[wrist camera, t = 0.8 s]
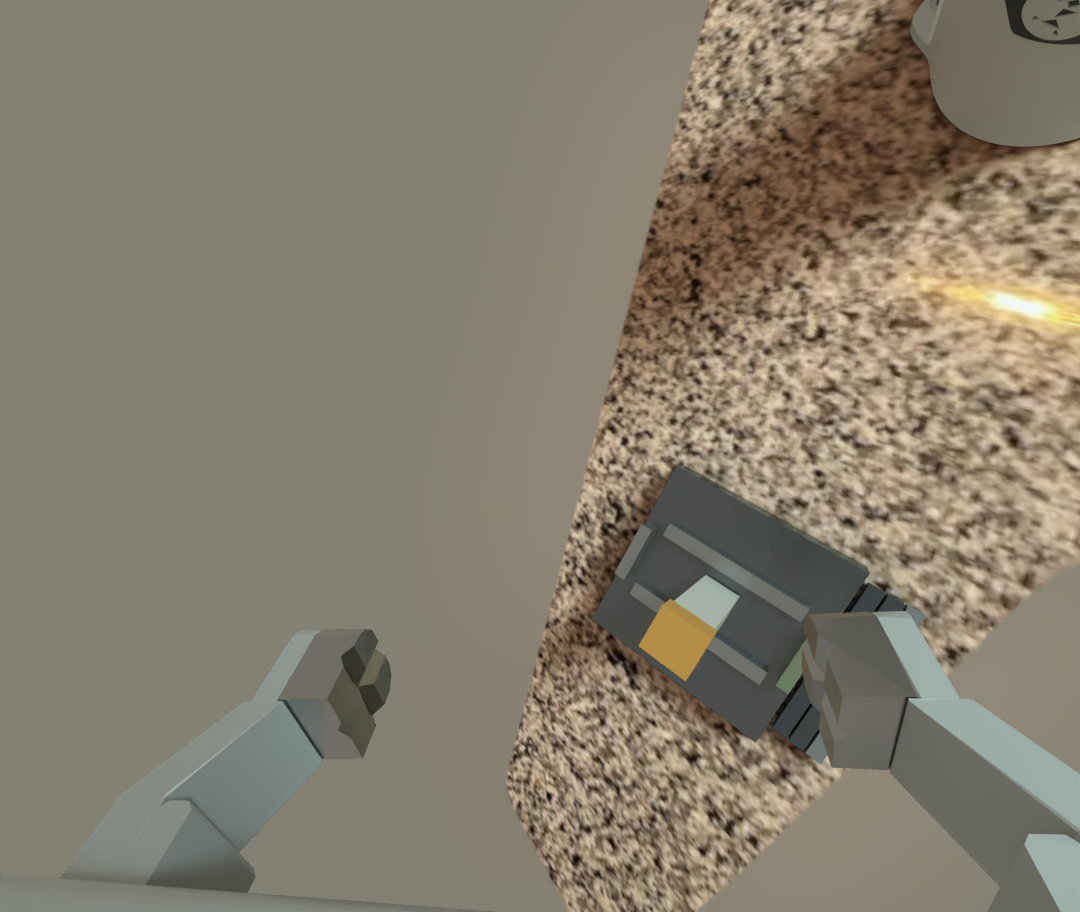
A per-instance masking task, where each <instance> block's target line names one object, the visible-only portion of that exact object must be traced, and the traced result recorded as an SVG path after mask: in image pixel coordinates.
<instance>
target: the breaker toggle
mask: <svg viewBox="0 0 1080 912" xmlns="http://www.w3.org/2000/svg"><path fill="white" fill-rule="evenodd" d="M739 597H740V596H738V595H737V594H735V593H734V592H732V591H730V590H729V589H727V588H726V587H724V586H723V585H721V584H720V583H718V582H716V581H715V580H713V579H712V578H710V577H709V576H707V575H705V576H704V577H703V578H702V579H700V580H699V581H698V582H697V583H695V584H694V585H693V586H692V587H691V588H689V589H688V590H687V591H686V592H684V593H683V594H682V595H681V596H679V597H678V598H677V599H676V600H675V601H673V600H672V599H669V600H668V601H667V602H665V603H664V604H663V605H662V607H661V608H660V610H659V612H658V613H657V615H656V617H655V619H654V620H653V622H652V624H651V625H650V627H649V629H648V630H647V632H646V634H645V636H644V637H643V639H642V641H641V642H640V644H639V647H640V648H642V649H643V650H644V651H646V652H647V653H648V654H650V655H651V656H652V657H654V658H655V659H656V660H658V661H659V662H660V663H662V664H663V665H664V666H666V667H667V668H668V669H670V670H671V671H672V672H674V673H675V674H676V675H678V676H679V677H680V678H682V679H683V680H684V681H686V680H687V679H688V677H689V676H690V675H691V673H692V672H693V670H694V668H695V667H696V665H697V664H698V662H699V660H700V659H701V657H702V656H703V654H704V652H705V651H706V649H707V648H708V646H709V644H710V643H711V641H712V639H713V638H714V636H715V635H716V633H717V631H718V630H719V628H720V627H721V626H722V624H723V623H724V621H725V619H726V618H727V616H728V615H729V613H730V611H731V610H732V608H733V607H734V605H735V603H736V602H737V600H738V598H739Z"/></svg>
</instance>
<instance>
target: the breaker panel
mask: <svg viewBox="0 0 1080 912" xmlns="http://www.w3.org/2000/svg"><path fill="white" fill-rule="evenodd" d="M614 574H616V576H615V578H614V580H613V582H612V583H611V585H610V587H609V589H608V591H607V592H606V594H605V596H604V598H603V600H602V601H601V603H600V605H599V607H598V609H597V610H596V612H595V614H594V616H593V618H592V620H594V621H595V622H596V623H598V624H599V625H600V626H602V627H603V628H604V629H606V630H607V631H608V632H610V633H611V634H612V635H614V636H615V637H616V638H618V639H619V640H620V641H622V642H623V643H624V644H626V645H627V646H628V647H630V648H631V649H632V650H634V651H635V652H636V653H638V654H639V655H640V656H642V657H643V658H644V659H646V660H647V661H648V662H649V663H651V664H652V665H653V666H655V667H656V668H657V669H659V670H660V671H661V672H663V673H664V674H665V675H667V676H668V677H669V678H671V679H672V680H673V681H675V682H676V683H677V684H679V685H680V686H681V687H683V688H684V689H685V690H687V691H688V692H689V693H691V694H692V695H693V696H695V697H696V698H697V699H699V700H700V701H701V702H703V703H704V704H705V705H707V706H708V707H709V708H710V709H712V710H713V711H714V712H716V713H717V714H718V715H720V716H721V717H722V718H724V719H725V720H726V721H728V722H729V723H730V724H732V725H733V726H734V727H736V728H737V729H738V730H740V731H741V732H742V733H744V734H745V735H746V736H748V737H749V738H750V739H752V740H753V741H754V742H756V741H757V740H758V738H759V737H760V735H761V734H762V732H763V731H764V729H765V728H766V726H767V725H768V723H769V722H770V720H771V719H772V717H773V716H774V714H775V713H776V712H777V710H778V709H779V707H780V706H781V704H782V703H783V701H784V700H785V698H786V697H787V695H788V694H789V693H790V691H791V690H792V688H793V687H794V685H795V684H796V682H797V681H798V679H799V678H800V676H801V675H802V673H803V671H802V661H801V660H802V647H803V646H804V645H805V644H806V643H808V641H807V638H806V635H805V632H804V621H805V618H806V616H807V614H830V613H843V612H844V611H845V609H846V608H847V606H848V605H849V603H850V602H851V600H852V599H853V597H854V596H855V594H856V593H857V591H858V590H859V588H860V587H861V586H862V584H863V583H864V581H865V580H866V578H867V577H868V575H869V571H868V568H867V567H866V566H864V565H862V564H861V563H859V562H857V561H855V560H853V559H852V558H850V557H848V556H846V555H844V554H843V553H841V552H839V551H837V550H836V549H834V548H832V547H830V546H828V545H827V544H825V543H823V542H821V541H819V540H818V539H816V538H814V537H812V536H810V535H809V534H807V533H805V532H803V531H801V530H800V529H798V528H796V527H794V526H792V525H791V524H789V523H787V522H785V521H783V520H782V519H780V518H778V517H776V516H774V515H773V514H771V513H769V512H767V511H765V510H764V509H762V508H760V507H758V506H756V505H755V504H753V503H751V502H749V501H747V500H746V499H744V498H742V497H740V496H738V495H737V494H735V493H733V492H731V491H729V490H728V489H726V488H724V487H722V486H720V485H719V484H717V483H715V482H713V481H711V480H710V479H708V478H706V477H704V476H702V475H701V474H699V473H697V472H695V471H693V470H692V469H690V468H688V467H686V466H676V468H675V470H674V472H673V474H672V475H671V477H670V479H669V481H668V483H667V484H666V486H665V488H664V490H663V492H662V493H661V495H660V497H659V499H658V501H657V502H656V504H655V506H654V508H653V510H652V511H651V513H650V515H649V517H648V519H647V520H646V522H645V523H644V524H641V526H640V528H639V530H638V532H637V533H636V535H635V537H634V539H633V541H632V542H631V544H630V546H629V548H628V550H627V551H626V553H625V555H624V557H623V559H622V560H621V562H620V564H619V566H618V568H617V569H616V571H615V573H614ZM705 575H707V576H709V577H710V578H712V579H713V580H715V581H716V582H718V583H720V584H721V585H723V586H724V587H726V588H727V589H729V590H730V591H732V592H734V593H735V594H737V595H738V596H740V597H739V598H738V600H737V602H736V603H735V605H734V607H733V608H732V610H731V611H730V613H729V615H728V616H727V618H726V619H725V621H724V623H723V624H722V626H721V627H720V628H719V630H718V631H717V633H716V635H715V636H714V638H713V639H712V641H711V643H710V644H709V646H708V648H707V649H706V651H705V652H704V654H703V656H702V657H701V659H700V660H699V662H698V664H697V665H696V667H695V668H694V670H693V672H692V673H691V675H690V676H689V677H688V679H687V680H686V681H684V680H683V679H682V678H680V677H679V676H678V675H676V674H675V673H674V672H672V671H671V670H670V669H668V668H667V667H666V666H664V665H663V664H662V663H660V662H659V661H658V660H656V659H655V658H654V657H652V656H651V655H650V654H648V653H647V652H646V651H644V650H643V649H642V648H640V647H639V644H640V642H641V641H642V639H643V637H644V636H645V634H646V632H647V630H648V629H649V627H650V625H651V624H652V622H653V620H654V619H655V617H656V615H657V613H658V612H659V610H660V608H661V607H662V605H663V604H664V603H665V602H667V601H668V600H669V599H672V600H673V601H675V600H676V599H677V598H678V597H679V596H681V595H682V594H683V593H684V592H686V591H687V590H688V589H689V588H691V587H692V586H693V585H694V584H695V583H697V582H698V581H699V580H700V579H702V578H703V577H704V576H705Z"/></svg>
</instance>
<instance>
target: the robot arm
mask: <svg viewBox="0 0 1080 912" xmlns="http://www.w3.org/2000/svg"><path fill="white" fill-rule="evenodd" d="M937 5H938V6H937ZM910 34H911V37H912V39H913V41H914V42H915V44H916V45H917V46H918V48H919V49H920V50H921V51H922V53H923V54H924V55H925V56H926V57H927V60H928V63H929V68H930V78H931V86H932V91H933V94H934V97H935V100H936V102H937V104H938V106H939V108H940V109H941V111H942V112H943V114H944V115H945V116H946V117H947V118H948V120H949V121H950V122H952V123H953V124H954V125H955V126H956V127H957V128H959V129H960V130H962V131H963V132H965V133H967V134H969V135H971V136H973V137H975V138H978V139H980V140H983V141H986V142H990V143H994V144H999V145H1006V146H1020V147H1027V146H1043V145H1050V144H1056V143H1061V142H1066V141H1070V140H1074V139H1077V138H1080V0H924V2H923V3H922V4H921V5H920V7H919V8H918V9H917V11H916V13H915V14H914V17H913V20H912V23H911V26H910ZM804 632H805V635H806V638H807V641H808V643H806V644H805V645H804V646H803V647H802V660H801V661H802V671H803V678H804V682H805V687H806V691H807V694H808V697H809V700H810V703H811V704H812V705H813V706H814V707H815V708H816V709H818V710H819V711H820V720H819V731H820V734H821V737H822V740H823V743H824V746H825V749H826V752H827V755H828V758H829V761H830V764H831V767H833V768H855V769H857V768H858V769H877V770H890V774H891V775H892V776H893V777H894V778H895V779H896V780H897V781H898V782H899V783H900V784H901V785H902V786H903V787H904V788H905V789H906V790H907V791H908V792H909V793H910V794H911V795H912V796H913V797H914V798H915V799H916V801H917V802H919V803H920V805H921V806H922V807H923V808H924V809H925V810H926V811H927V812H928V813H929V814H930V815H931V816H932V817H933V818H934V819H935V820H936V821H937V822H938V823H939V824H940V825H941V826H942V827H943V828H944V829H945V830H946V831H947V832H948V834H949V835H950V836H951V837H952V838H953V839H954V840H955V841H956V842H957V843H958V844H959V845H960V846H961V847H962V848H963V849H964V850H965V851H966V852H967V853H968V854H969V855H970V856H971V857H972V858H973V859H974V860H975V861H976V862H977V863H978V864H979V865H980V867H981V868H982V869H983V870H984V871H985V872H986V873H987V874H988V875H989V876H990V877H991V878H992V879H993V880H994V881H995V882H996V883H997V884H998V885H999V886H1000V889H999V891H998V893H997V895H996V897H995V898H994V900H993V902H992V904H991V906H990V908H989V910H988V911H987V912H1080V774H1079V773H1077V772H1076V771H1074V770H1073V769H1072V768H1070V767H1069V766H1067V765H1066V764H1064V763H1063V762H1061V761H1060V760H1059V759H1057V758H1056V757H1054V756H1053V755H1051V754H1050V753H1048V752H1047V751H1046V750H1044V749H1043V748H1041V747H1040V746H1038V745H1037V744H1036V743H1034V742H1033V741H1031V740H1030V739H1028V738H1027V737H1025V736H1024V735H1022V734H1021V733H1019V732H1018V731H1017V730H1015V729H1014V728H1012V727H1011V726H1009V725H1008V724H1007V723H1005V722H1004V721H1002V720H1001V719H999V718H998V717H996V716H995V715H993V714H992V713H991V712H989V711H988V710H987V709H985V708H984V707H982V706H981V705H979V704H978V703H976V702H975V701H974V700H972V699H966V698H959V696H958V694H957V693H956V691H955V689H954V688H953V686H952V684H951V683H950V681H949V679H948V678H947V676H946V674H945V672H944V671H943V669H942V667H941V666H940V664H939V662H938V661H937V659H936V657H935V656H934V654H933V652H932V651H931V649H930V647H929V646H928V644H927V642H926V640H925V639H924V637H923V635H922V634H921V632H920V630H919V629H918V627H917V625H916V624H915V622H914V620H913V619H912V617H911V616H910V615H909V614H908V613H907V612H905V611H888V612H871V613H869V612H853V613H830V614H807V616H806V618H805V621H804ZM377 643H378V640H377V638H376V636H375V634H374V633H373V631H372V630H366V629H362V630H361V629H359V630H358V629H347V630H346V629H345V630H344V629H340V630H338V629H335V630H300V631H299V632H297V633H296V634H294V635H293V636H292V638H291V640H290V641H289V643H288V644H287V646H286V648H285V649H284V650H283V652H282V654H281V655H280V657H279V658H278V660H277V662H276V663H275V665H274V666H273V668H272V669H271V671H270V673H269V674H268V676H267V678H266V679H265V681H264V682H263V684H262V685H261V687H260V688H259V690H258V692H257V693H256V695H255V696H254V698H253V699H252V701H244V702H243V703H242V704H240V705H239V706H238V707H236V708H235V709H234V710H232V711H231V712H230V713H229V714H227V715H226V716H225V717H223V718H222V719H221V720H219V721H218V722H217V723H215V724H214V725H213V726H211V727H210V728H209V729H207V730H206V731H205V732H204V733H202V734H201V735H199V736H198V737H197V738H196V739H194V740H193V741H192V742H190V743H189V744H188V745H186V746H185V747H184V748H182V749H181V750H180V751H178V752H177V753H176V754H174V755H173V756H172V757H171V758H169V759H168V760H167V761H165V762H164V763H163V764H161V765H160V766H159V767H157V768H156V769H155V770H153V771H152V772H151V773H149V774H148V775H147V776H145V777H144V778H143V779H141V780H140V781H139V782H138V783H136V784H135V785H134V786H132V787H131V788H130V789H128V790H127V791H126V792H124V793H123V794H122V795H121V796H120V797H119V798H118V799H117V801H116V802H115V804H114V805H113V806H112V808H111V809H110V810H109V812H108V813H107V814H106V816H105V817H104V818H103V820H102V821H101V822H100V824H99V825H98V827H97V828H96V829H95V831H94V832H93V833H92V835H91V836H90V838H89V839H88V840H87V842H86V843H85V844H84V846H83V847H82V849H81V850H80V851H79V852H78V854H77V855H76V857H75V858H74V859H73V861H72V862H71V863H70V865H69V866H68V867H67V869H66V870H65V871H64V873H63V874H62V875H61V877H60V878H46V877H32V876H20V875H6V874H0V912H493V911H479V910H467V909H453V908H440V907H427V906H413V905H401V904H388V903H373V902H361V901H348V900H335V899H321V898H309V897H296V896H282V895H269V894H256V893H248V891H249V889H250V887H251V885H252V883H253V881H254V879H255V872H254V868H253V867H252V866H251V865H250V864H249V863H248V862H247V861H246V860H245V859H244V858H243V857H242V856H241V854H240V853H239V852H240V851H241V850H242V849H243V848H244V847H245V846H246V845H247V843H248V842H249V841H250V840H251V839H252V838H253V837H254V836H255V835H256V834H257V833H258V832H259V830H260V829H261V828H262V827H263V826H264V825H265V824H266V823H267V822H268V821H269V820H270V818H271V817H272V816H273V815H274V814H275V813H276V812H277V811H278V810H279V808H281V806H282V805H283V804H284V803H285V802H286V801H287V800H288V799H289V798H290V797H291V795H292V794H293V793H294V792H295V791H296V790H297V789H298V788H299V787H300V786H301V785H302V784H303V783H304V781H305V780H306V779H307V778H308V777H309V776H310V775H311V774H312V773H313V772H314V771H315V769H316V768H317V767H318V766H319V765H320V764H321V763H322V762H323V761H322V759H347V758H348V759H349V758H350V759H351V758H363V756H364V754H365V751H366V749H367V746H368V744H369V741H370V739H371V737H372V734H373V731H374V729H375V726H376V724H375V720H374V717H373V714H374V713H375V712H377V710H379V709H380V708H381V707H382V706H383V705H384V704H385V701H386V699H387V696H388V693H389V690H390V682H391V671H390V665H389V662H388V660H387V658H386V656H385V655H383V654H382V653H380V652H379V651H378V650H376V649H375V647H376V645H377Z"/></svg>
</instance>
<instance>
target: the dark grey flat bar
mask: <svg viewBox="0 0 1080 912" xmlns="http://www.w3.org/2000/svg"><path fill="white" fill-rule="evenodd" d="M883 597H884V598H883ZM881 600H882V601H881ZM879 603H880V604H879ZM877 606H878V607H877ZM874 610H875V611H874ZM888 611H905V612H907V613H908V614H909V615H910V616H911V617H912V619H913V620H914V622H915V624H916V625H917V627H919V626H920V624H921V623H922V622H923V620H924V619H925V616H924V614H923V613H921V612H919V611H918V610H916V609H914V608H912V607H911V606H909V605H907V604H906V605H904V603H903V602H902V601H900V600H898V599H896V598H895V597H893V596H891V595H889V594H888V593H887V594H886V595H885V593H884V591H882V590H881V589H879V588H877V587H875V586H873V585H872V584H870V583H867V585H866V586H865V588H864V589H863V591H862V592H861V594H860V595H859V596H858V598H857V599H856V601H855V602H854V604H853V605H852V607H851V608H850V610H849V611H848V613H853V612H869V613H871V612H888ZM808 706H809V707H808ZM806 709H807V710H806ZM804 712H805V713H804ZM801 716H802V717H801ZM799 719H800V720H799ZM819 720H820V711H819V710H818V709H816V708H815V707H814V706H813V705H812V704H810V700H809V697H808V694H807V691H806V687H805V682H804V678H803V679H802V681H801V682H800V684H799V685H798V687H797V688H796V690H795V691H794V693H793V694H792V695H791V697H790V698H789V700H788V701H787V703H786V704H785V706H784V707H783V709H782V710H781V712H780V713H779V715H778V716H777V718H776V719H775V721H774V722H773V726H772V729H773V730H775V731H776V732H777V733H779V734H780V735H781V736H783V737H784V738H785V739H786V738H787V737H788V735H789V740H788V741H790V742H791V743H792V744H794V745H795V746H796V747H798V748H799V749H801V750H802V751H804V749H805V748H806V754H807V755H809V756H810V757H811V758H813V759H814V760H816V761H817V762H818V763H820V764H821V763H822V761H823V760H824V759H825V757H826V756H827V752H826V749H825V746H824V743H823V740H822V737H821V734H820V731H819ZM797 722H798V723H797ZM795 725H796V726H795ZM792 729H793V730H792ZM790 732H791V733H790Z"/></svg>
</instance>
